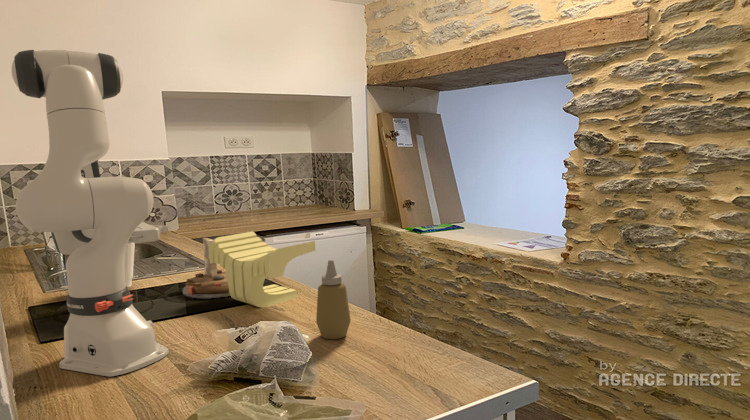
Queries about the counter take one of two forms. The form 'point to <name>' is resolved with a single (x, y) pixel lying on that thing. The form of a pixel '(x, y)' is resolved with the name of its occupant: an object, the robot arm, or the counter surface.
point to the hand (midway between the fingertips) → (166, 228)
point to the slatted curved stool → (255, 267)
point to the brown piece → (209, 276)
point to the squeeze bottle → (332, 305)
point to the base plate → (189, 292)
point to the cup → (129, 263)
